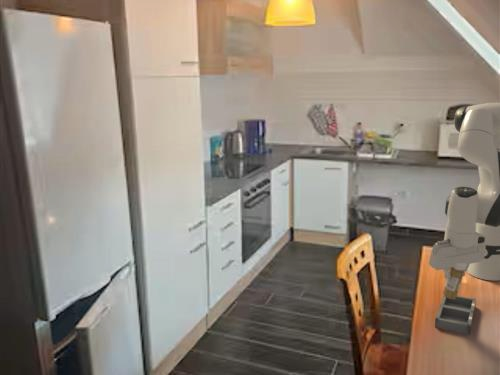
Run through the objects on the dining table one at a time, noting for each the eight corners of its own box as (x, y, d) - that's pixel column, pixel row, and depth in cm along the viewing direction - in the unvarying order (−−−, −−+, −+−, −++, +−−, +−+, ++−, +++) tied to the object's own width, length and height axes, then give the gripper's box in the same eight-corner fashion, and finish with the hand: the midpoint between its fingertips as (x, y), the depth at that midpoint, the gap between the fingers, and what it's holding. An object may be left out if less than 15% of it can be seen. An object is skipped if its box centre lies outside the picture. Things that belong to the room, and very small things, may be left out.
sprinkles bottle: (459, 298, 157) (470, 264, 151) (449, 300, 155) (459, 266, 149) (449, 290, 160) (459, 256, 155) (439, 292, 159) (449, 259, 153)
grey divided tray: (443, 301, 174) (444, 292, 173) (475, 308, 169) (476, 298, 168) (434, 328, 156) (435, 318, 155) (469, 336, 151) (470, 325, 150)
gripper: (441, 245, 145) (436, 286, 148) (490, 236, 152) (485, 276, 155) (426, 238, 150) (422, 278, 154) (475, 230, 158) (470, 268, 161)
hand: (454, 277), depth 155 cm, fingers closed on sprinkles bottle, 4 cm apart
